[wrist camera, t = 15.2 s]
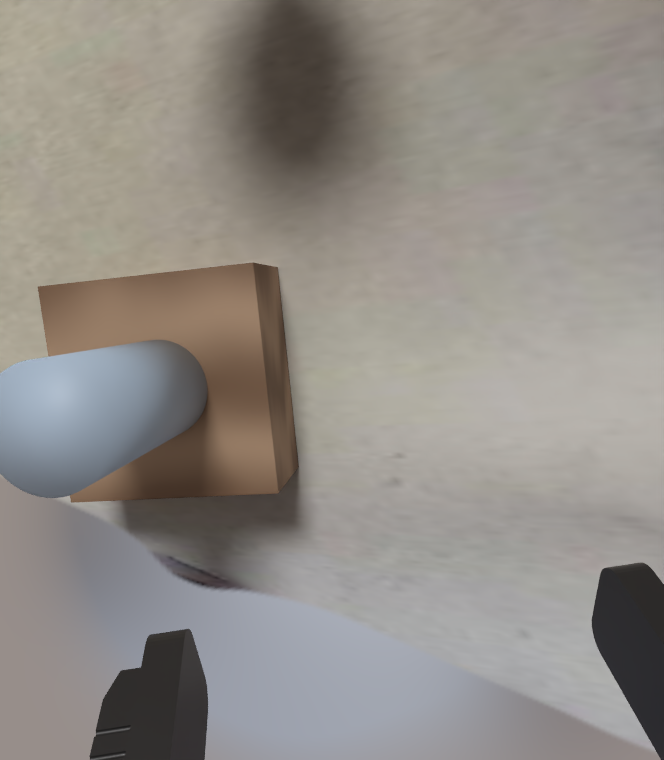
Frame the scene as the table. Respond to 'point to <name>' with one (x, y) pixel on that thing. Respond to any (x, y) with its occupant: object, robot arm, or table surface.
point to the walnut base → (220, 365)
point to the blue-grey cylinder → (94, 412)
